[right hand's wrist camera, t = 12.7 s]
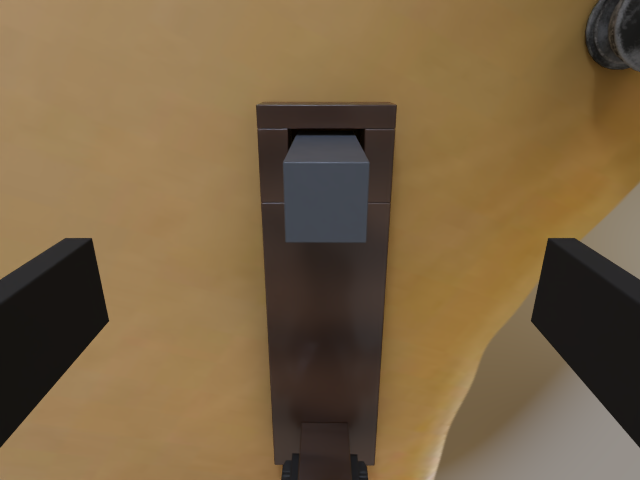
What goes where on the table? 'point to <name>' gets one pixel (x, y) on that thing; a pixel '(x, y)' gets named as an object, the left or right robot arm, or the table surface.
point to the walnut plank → (325, 299)
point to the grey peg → (326, 188)
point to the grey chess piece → (615, 34)
